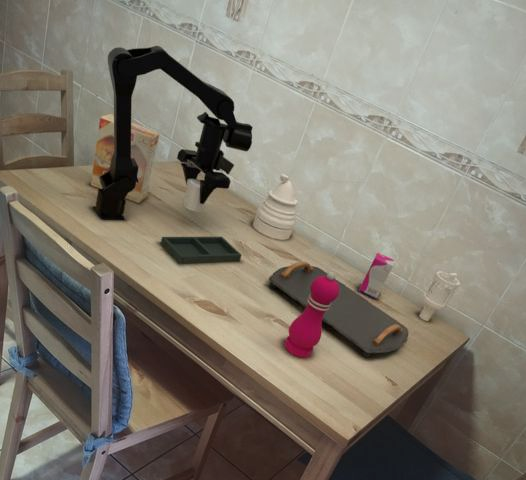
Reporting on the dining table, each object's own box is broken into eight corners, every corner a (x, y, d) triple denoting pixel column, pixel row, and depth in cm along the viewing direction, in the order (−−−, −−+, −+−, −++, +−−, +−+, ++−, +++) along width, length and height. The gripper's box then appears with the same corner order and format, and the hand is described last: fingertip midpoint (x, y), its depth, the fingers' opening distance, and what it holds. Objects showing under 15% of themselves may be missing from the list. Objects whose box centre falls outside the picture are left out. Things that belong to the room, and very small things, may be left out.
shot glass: (207, 207, 147) (213, 184, 143) (202, 215, 141) (209, 191, 137) (184, 199, 146) (190, 175, 143) (178, 206, 141) (184, 182, 137)
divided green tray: (179, 264, 127) (181, 256, 126) (160, 243, 132) (161, 236, 131) (239, 261, 139) (241, 254, 138) (219, 243, 145) (222, 236, 144)
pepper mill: (280, 336, 115) (313, 259, 105) (310, 343, 117) (345, 268, 106) (284, 355, 110) (319, 276, 99) (314, 362, 111) (352, 285, 101)
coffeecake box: (89, 185, 147) (99, 116, 136) (99, 179, 153) (109, 112, 142) (138, 204, 148) (152, 137, 137) (147, 197, 154) (160, 132, 143)
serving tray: (256, 281, 133) (263, 260, 130) (306, 269, 150) (314, 250, 147) (372, 368, 117) (384, 348, 114) (414, 344, 134) (425, 325, 131)
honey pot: (258, 235, 159) (277, 180, 149) (248, 217, 168) (266, 164, 158) (294, 242, 164) (315, 190, 154) (283, 225, 173) (302, 174, 164)
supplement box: (378, 292, 154) (395, 259, 148) (375, 300, 149) (393, 266, 143) (361, 284, 154) (377, 251, 148) (357, 291, 149) (375, 257, 143)
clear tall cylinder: (439, 322, 151) (466, 280, 143) (427, 326, 146) (454, 282, 138) (420, 309, 154) (446, 267, 146) (408, 312, 149) (434, 268, 141)
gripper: (253, 160, 134) (236, 214, 143) (216, 133, 144) (202, 185, 152) (219, 156, 127) (203, 213, 135) (182, 127, 137) (170, 182, 145)
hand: (195, 198), depth 142 cm, fingers closed on shot glass, 6 cm apart
